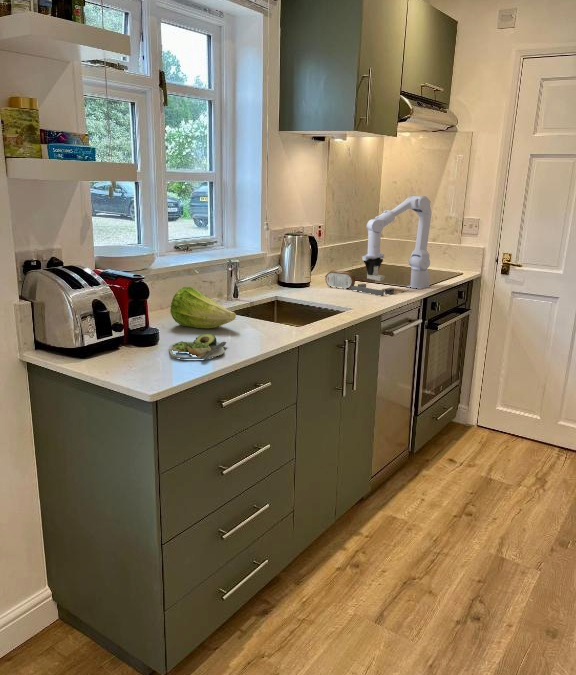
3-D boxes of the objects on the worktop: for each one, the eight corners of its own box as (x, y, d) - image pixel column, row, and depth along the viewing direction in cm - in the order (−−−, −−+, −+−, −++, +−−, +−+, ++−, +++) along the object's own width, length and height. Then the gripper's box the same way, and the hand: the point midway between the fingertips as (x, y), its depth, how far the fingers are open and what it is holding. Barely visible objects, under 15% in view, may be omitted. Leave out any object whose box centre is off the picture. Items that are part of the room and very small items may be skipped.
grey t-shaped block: (371, 277, 277) (372, 265, 275) (384, 280, 272) (385, 267, 270) (366, 278, 274) (367, 265, 272) (379, 280, 269) (380, 268, 267)
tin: (355, 289, 279) (355, 272, 277) (352, 290, 277) (353, 273, 275) (327, 286, 287) (327, 269, 284) (324, 287, 284) (324, 270, 282)
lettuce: (246, 330, 207) (221, 343, 195) (192, 317, 218) (165, 329, 206) (246, 291, 202) (221, 302, 190) (190, 280, 213) (163, 290, 201)
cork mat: (391, 288, 283) (391, 287, 283) (408, 290, 276) (408, 290, 276) (381, 290, 278) (381, 289, 278) (399, 293, 271) (399, 292, 271)
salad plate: (231, 363, 168) (231, 347, 167) (169, 366, 165) (168, 350, 163) (225, 344, 186) (225, 331, 185) (169, 347, 183) (168, 333, 182)
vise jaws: (361, 288, 282) (361, 283, 282) (394, 293, 269) (395, 288, 268) (349, 290, 276) (349, 285, 275) (383, 296, 263) (383, 291, 262)
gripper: (376, 243, 278) (375, 271, 281) (357, 246, 268) (356, 275, 271) (388, 244, 273) (387, 273, 276) (369, 247, 263) (368, 276, 267)
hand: (372, 274), depth 274 cm, fingers closed on grey t-shaped block, 4 cm apart
